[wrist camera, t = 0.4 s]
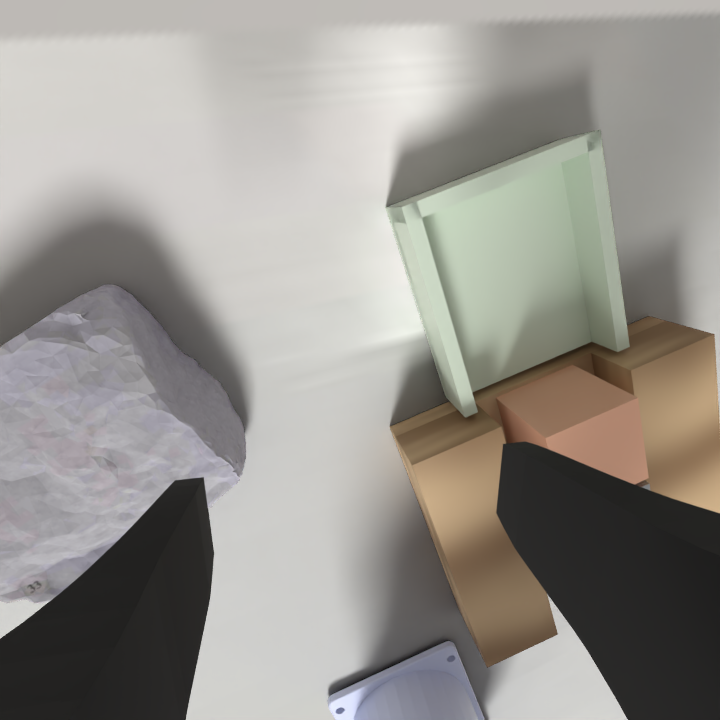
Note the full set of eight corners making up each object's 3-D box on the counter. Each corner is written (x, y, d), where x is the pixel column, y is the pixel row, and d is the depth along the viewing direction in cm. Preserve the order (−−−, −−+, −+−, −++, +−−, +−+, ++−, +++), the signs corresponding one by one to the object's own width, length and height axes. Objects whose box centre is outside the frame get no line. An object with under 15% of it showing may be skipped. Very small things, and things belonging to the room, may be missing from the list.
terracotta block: (585, 433, 23) (648, 478, 19) (514, 465, 22) (563, 516, 19) (572, 364, 21) (638, 397, 18) (495, 397, 21) (545, 438, 17)
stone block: (267, 415, 22) (106, 250, 17) (280, 485, 18) (73, 298, 13) (74, 545, 23) (-143, 426, 17) (45, 640, 19) (-249, 523, 13)
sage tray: (594, 333, 22) (629, 347, 20) (445, 396, 22) (465, 417, 19) (562, 138, 19) (600, 129, 17) (385, 207, 18) (401, 207, 16)
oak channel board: (671, 512, 27) (727, 554, 24) (459, 610, 26) (487, 667, 23) (649, 315, 22) (714, 334, 19) (389, 426, 22) (412, 465, 18)
